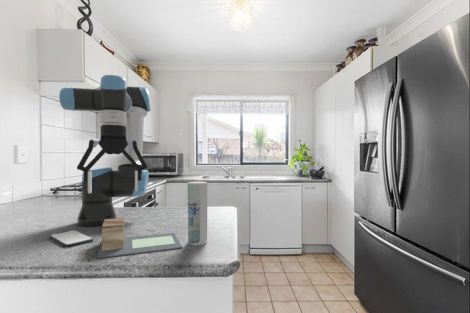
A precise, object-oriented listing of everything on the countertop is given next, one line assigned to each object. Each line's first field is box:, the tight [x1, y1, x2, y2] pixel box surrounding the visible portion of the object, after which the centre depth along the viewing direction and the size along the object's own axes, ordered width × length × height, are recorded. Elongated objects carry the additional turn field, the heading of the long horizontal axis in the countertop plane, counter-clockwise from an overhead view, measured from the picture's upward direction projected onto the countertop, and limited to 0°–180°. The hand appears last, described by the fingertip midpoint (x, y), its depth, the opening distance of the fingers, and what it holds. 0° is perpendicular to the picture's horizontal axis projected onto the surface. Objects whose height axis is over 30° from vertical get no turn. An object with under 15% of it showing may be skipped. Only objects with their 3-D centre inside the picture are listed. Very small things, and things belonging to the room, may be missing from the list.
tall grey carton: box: [187, 180, 208, 247], centre depth 91 cm, size 6×6×20 cm
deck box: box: [101, 217, 125, 251], centre depth 88 cm, size 10×6×7 cm, turn 21°
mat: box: [96, 232, 183, 260], centre depth 89 cm, size 17×24×1 cm
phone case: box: [48, 229, 94, 248], centre depth 94 cm, size 9×2×16 cm
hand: (113, 191), depth 87 cm, fingers open, 13 cm apart
